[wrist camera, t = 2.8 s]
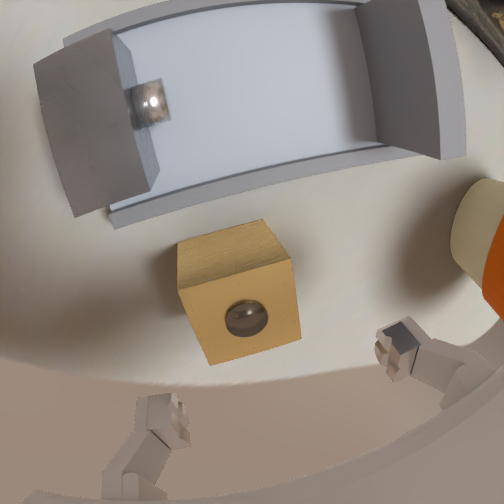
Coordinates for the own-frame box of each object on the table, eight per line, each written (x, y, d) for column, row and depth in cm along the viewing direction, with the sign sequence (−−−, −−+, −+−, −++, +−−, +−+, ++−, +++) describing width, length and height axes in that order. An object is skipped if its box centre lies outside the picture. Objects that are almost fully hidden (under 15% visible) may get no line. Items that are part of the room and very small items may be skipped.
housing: (201, 309, 19) (210, 368, 14) (177, 241, 16) (177, 293, 12) (275, 288, 19) (302, 341, 15) (262, 218, 17) (292, 260, 12)
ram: (102, 189, 12) (75, 217, 9) (71, 74, 10) (33, 64, 6) (185, 162, 13) (184, 181, 9) (156, 43, 10) (145, 16, 7)
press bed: (122, 215, 15) (90, 276, 9) (77, 46, 10) (19, 16, 4) (406, 148, 17) (481, 172, 11) (383, 6, 12) (456, -15, 6)
